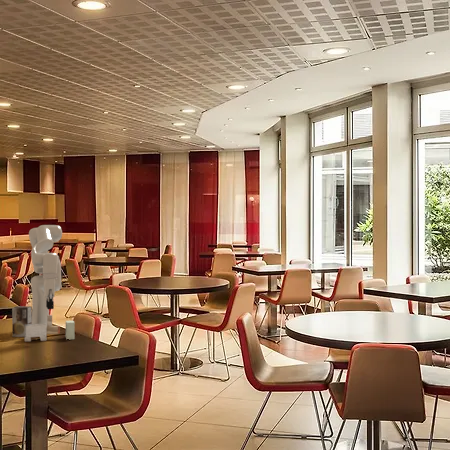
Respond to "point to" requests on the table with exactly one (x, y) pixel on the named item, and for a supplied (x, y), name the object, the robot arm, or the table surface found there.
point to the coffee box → (20, 320)
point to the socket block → (70, 329)
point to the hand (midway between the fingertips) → (49, 308)
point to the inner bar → (51, 328)
